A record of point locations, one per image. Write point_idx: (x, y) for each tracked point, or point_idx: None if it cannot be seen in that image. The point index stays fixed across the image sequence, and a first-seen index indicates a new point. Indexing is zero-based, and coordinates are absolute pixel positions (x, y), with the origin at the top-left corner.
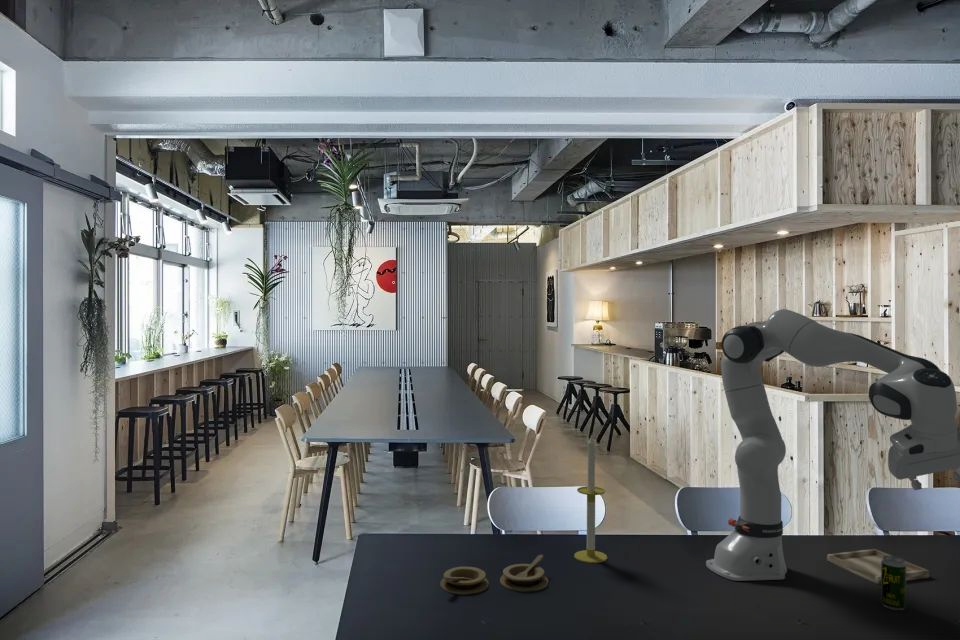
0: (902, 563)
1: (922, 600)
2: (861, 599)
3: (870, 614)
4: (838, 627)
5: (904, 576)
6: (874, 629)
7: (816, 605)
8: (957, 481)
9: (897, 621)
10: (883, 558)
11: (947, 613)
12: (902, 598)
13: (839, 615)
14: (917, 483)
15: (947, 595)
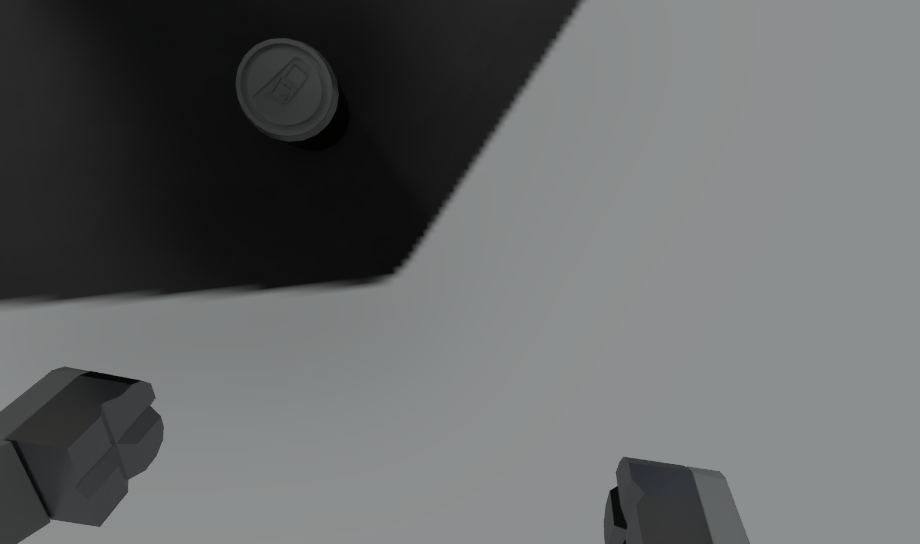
0: (303, 133)
1: (444, 64)
2: (228, 54)
3: (200, 177)
4: (41, 276)
5: (320, 138)
6: (159, 284)
7: (27, 107)
8: (607, 536)
9: (265, 226)
10: (238, 76)
11: (461, 164)
12: (320, 147)
13: (83, 188)
14: (51, 501)
15: (555, 22)
